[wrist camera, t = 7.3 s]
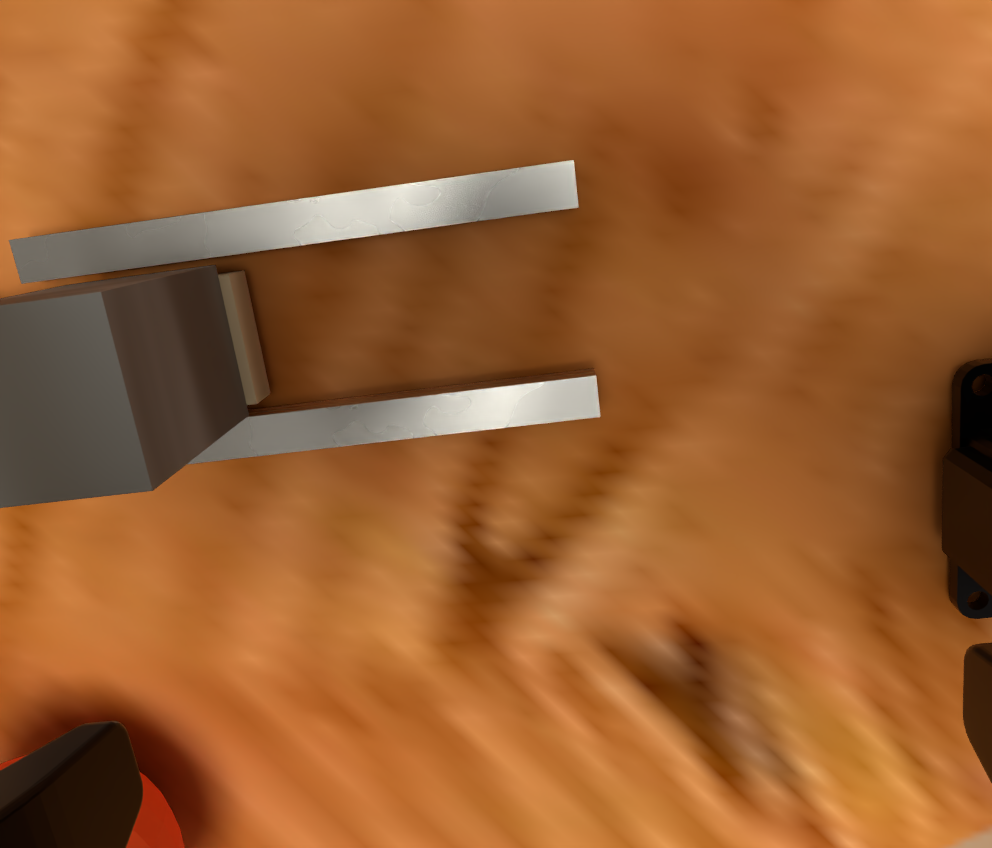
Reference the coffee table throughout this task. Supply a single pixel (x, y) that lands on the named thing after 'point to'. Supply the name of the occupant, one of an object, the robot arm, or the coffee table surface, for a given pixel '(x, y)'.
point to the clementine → (149, 819)
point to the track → (333, 222)
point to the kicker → (122, 381)
